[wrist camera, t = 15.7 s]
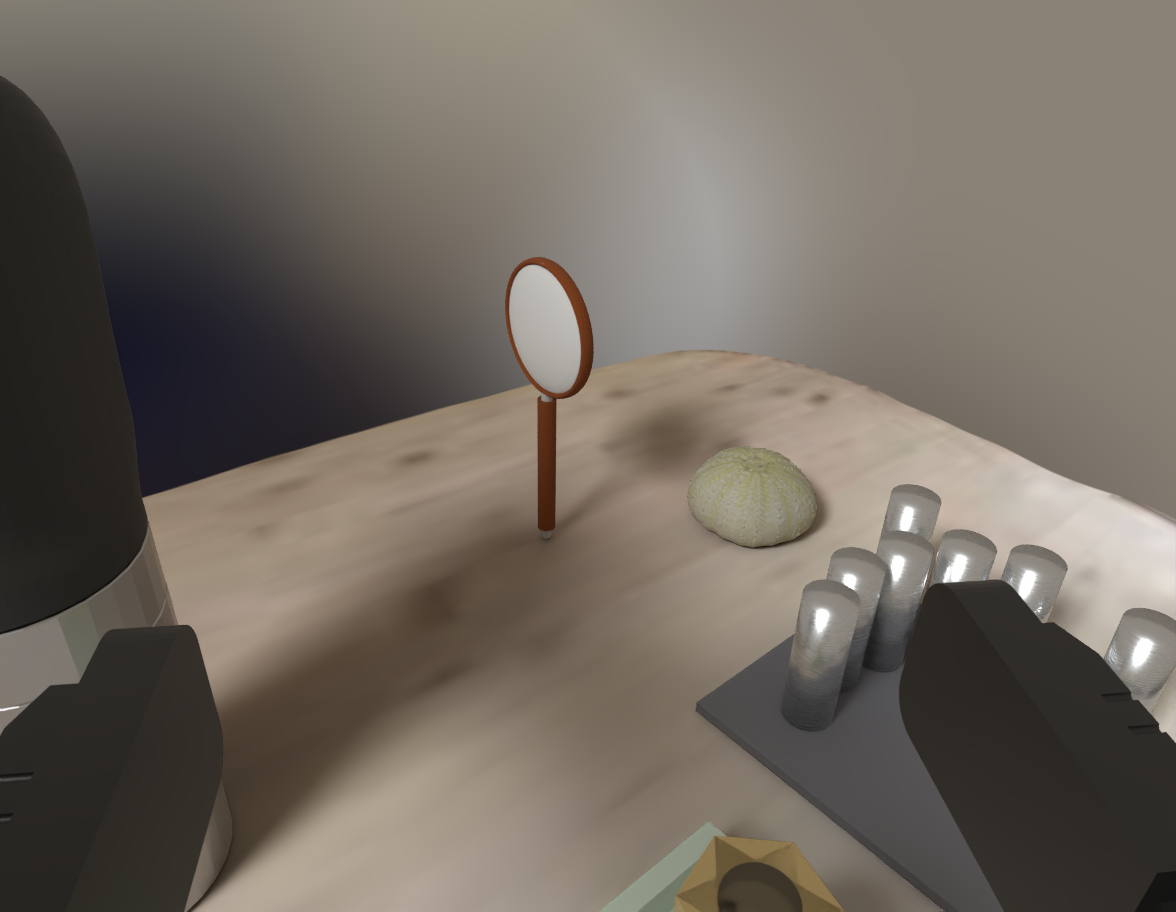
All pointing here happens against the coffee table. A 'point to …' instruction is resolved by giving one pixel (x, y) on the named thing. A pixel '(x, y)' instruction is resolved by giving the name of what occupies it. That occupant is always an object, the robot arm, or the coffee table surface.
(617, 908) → the parts tray
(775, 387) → the coffee table surface
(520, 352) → the magnifying glass
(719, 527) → the sea urchin shell
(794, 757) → the mat
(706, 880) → the gold hexagonal pillar
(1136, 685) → the spacer posts
